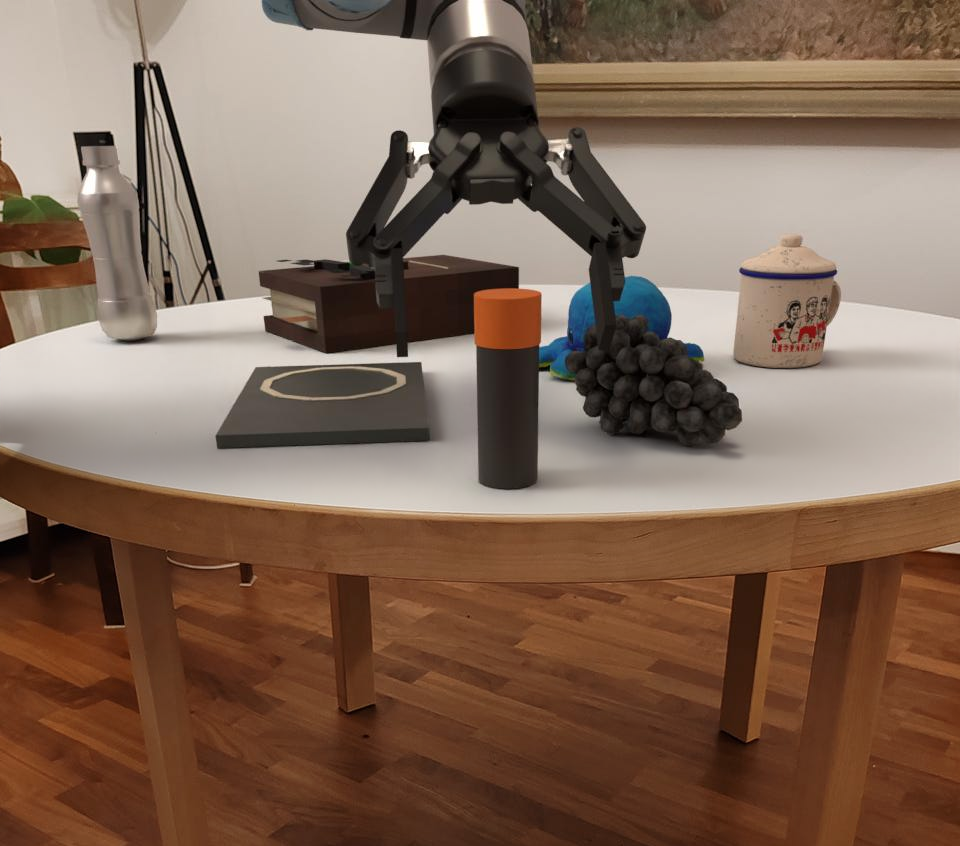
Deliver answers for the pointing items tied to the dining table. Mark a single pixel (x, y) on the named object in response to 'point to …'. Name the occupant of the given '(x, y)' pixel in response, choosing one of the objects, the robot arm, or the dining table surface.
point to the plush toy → (634, 301)
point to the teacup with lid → (785, 306)
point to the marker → (507, 385)
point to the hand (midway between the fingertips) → (505, 342)
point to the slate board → (328, 406)
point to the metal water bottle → (115, 246)
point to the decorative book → (353, 305)
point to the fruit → (651, 385)
